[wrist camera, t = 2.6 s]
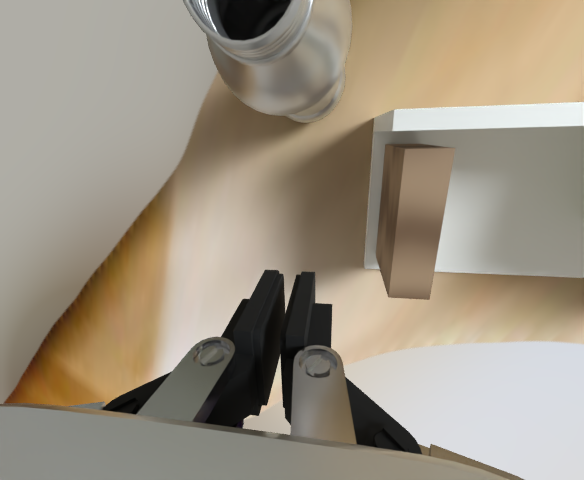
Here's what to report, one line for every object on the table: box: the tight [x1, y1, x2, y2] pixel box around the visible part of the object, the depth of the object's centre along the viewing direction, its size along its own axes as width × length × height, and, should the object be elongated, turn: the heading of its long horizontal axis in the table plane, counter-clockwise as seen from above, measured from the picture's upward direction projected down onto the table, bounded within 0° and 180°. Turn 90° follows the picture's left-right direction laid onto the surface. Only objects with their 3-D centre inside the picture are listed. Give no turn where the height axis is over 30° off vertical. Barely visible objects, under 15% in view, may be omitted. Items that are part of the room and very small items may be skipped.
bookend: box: [376, 144, 455, 300], centre depth 23 cm, size 11×3×8 cm, turn 1°
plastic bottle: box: [183, 0, 352, 123], centre depth 16 cm, size 6×7×20 cm
